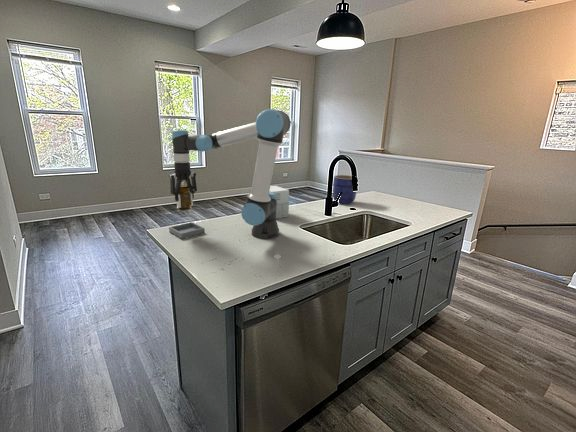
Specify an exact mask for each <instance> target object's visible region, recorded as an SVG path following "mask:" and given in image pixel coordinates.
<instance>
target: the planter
mask: <svg viewBox="0 0 576 432" xmlns="http://www.w3.org/2000/svg"><path fill="white" fill-rule="evenodd" d="M352 176H353V175H346V174H337V175H334V176H333V183H332V184H333V185H332V195H333V194H334V198H333V200H334V201H335V200H336V199H337V197H338V195H339V193H341V192H342V194H341V197H340V199H339V203H340V205H345V204H347V205H351V204H353V203H354V201H355V199H356V196H357V192H353V191H352ZM358 179H359V178H358V177H357V180H358ZM358 181H359V180H358Z"/></svg>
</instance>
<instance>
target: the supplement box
mask: <svg viewBox="0 0 576 432" xmlns="http://www.w3.org/2000/svg"><path fill="white" fill-rule="evenodd" d="M269 193H274V194H276V195H277V213H276V220H277V219H283V217H284V218H289V209H290V189H287V188H284V187H280V186H278V185H270V190H269Z"/></svg>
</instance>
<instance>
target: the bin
mask: <svg viewBox="0 0 576 432" xmlns="http://www.w3.org/2000/svg"><path fill="white" fill-rule="evenodd" d="M168 229H169V234H171V235H174V236H175V237H177V238H179V239H180V240H184V239H188V238H192V237H195V236H199V235H203V234H206V231H205V227H203V226H201V225H199V224H197V223H194V222H193V221H190V222H186V223H182V224H177V225H173V226H169V227H168Z"/></svg>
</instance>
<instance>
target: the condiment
mask: <svg viewBox="0 0 576 432" xmlns="http://www.w3.org/2000/svg"><path fill="white" fill-rule="evenodd" d="M179 195H180V200H181V208H179V207H177V206H176V209H177V210H178V212H180V211H181V212H182V211H193V210H194V209H193V208H192V205H190V191H189V188H188V186H187V184H183V185H182V184H181V186H180V190H179Z"/></svg>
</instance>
